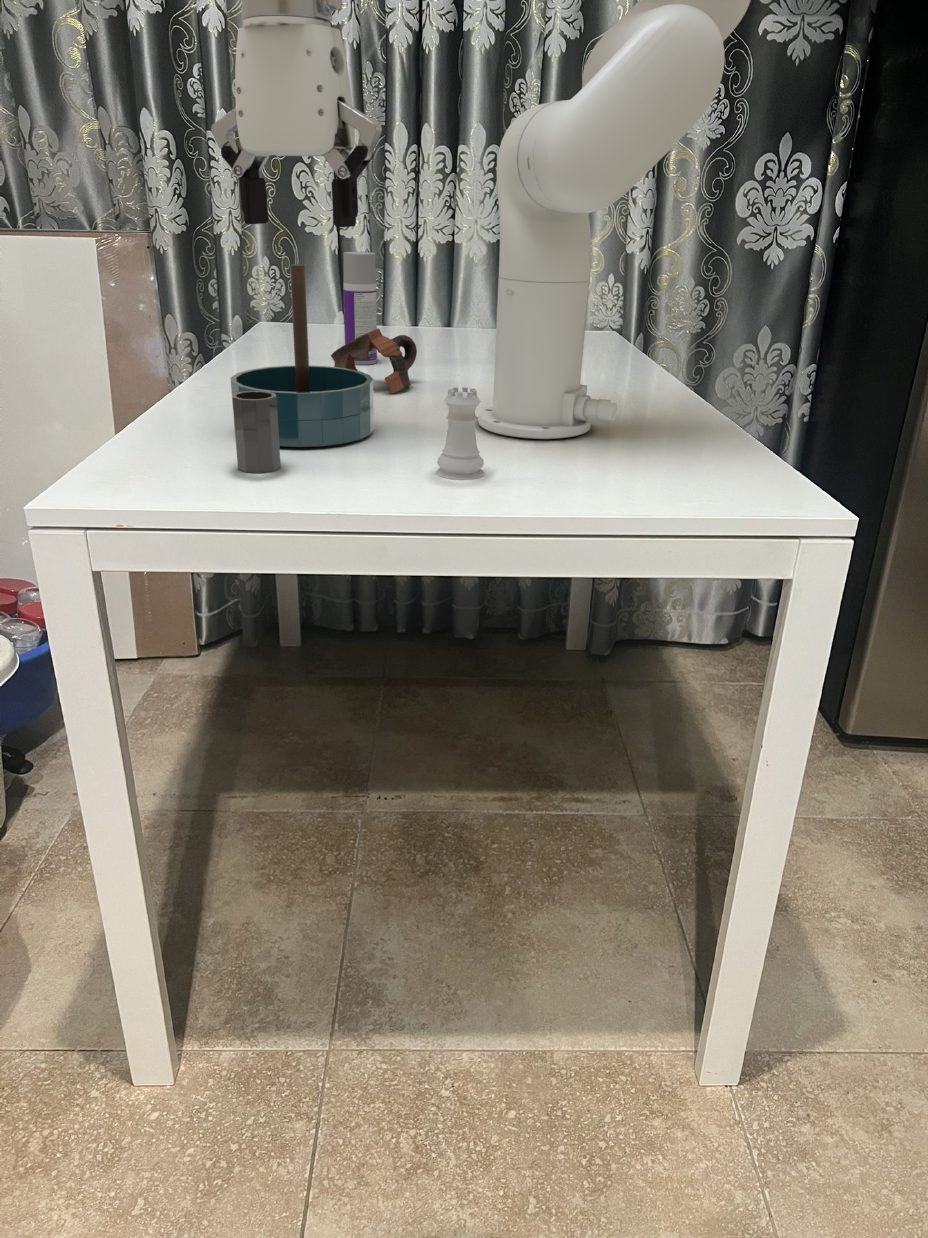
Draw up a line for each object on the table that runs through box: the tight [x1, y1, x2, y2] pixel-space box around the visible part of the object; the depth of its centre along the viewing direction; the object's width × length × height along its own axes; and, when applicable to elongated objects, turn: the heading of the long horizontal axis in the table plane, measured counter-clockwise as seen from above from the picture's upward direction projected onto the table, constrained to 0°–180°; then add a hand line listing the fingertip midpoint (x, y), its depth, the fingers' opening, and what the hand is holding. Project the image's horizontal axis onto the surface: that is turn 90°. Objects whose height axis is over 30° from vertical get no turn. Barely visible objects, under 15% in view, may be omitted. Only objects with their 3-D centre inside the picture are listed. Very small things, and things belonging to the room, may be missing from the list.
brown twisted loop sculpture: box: [330, 327, 418, 395], centre depth 118 cm, size 12×10×8 cm
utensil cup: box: [231, 391, 282, 475], centre depth 81 cm, size 4×4×7 cm
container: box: [343, 251, 378, 366], centre depth 131 cm, size 5×5×15 cm
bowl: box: [230, 364, 375, 448], centre depth 93 cm, size 14×14×6 cm
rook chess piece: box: [435, 386, 485, 481], centre depth 82 cm, size 4×4×8 cm
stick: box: [289, 263, 310, 392], centre depth 91 cm, size 1×1×16 cm
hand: (300, 224), depth 86 cm, fingers open, 9 cm apart
